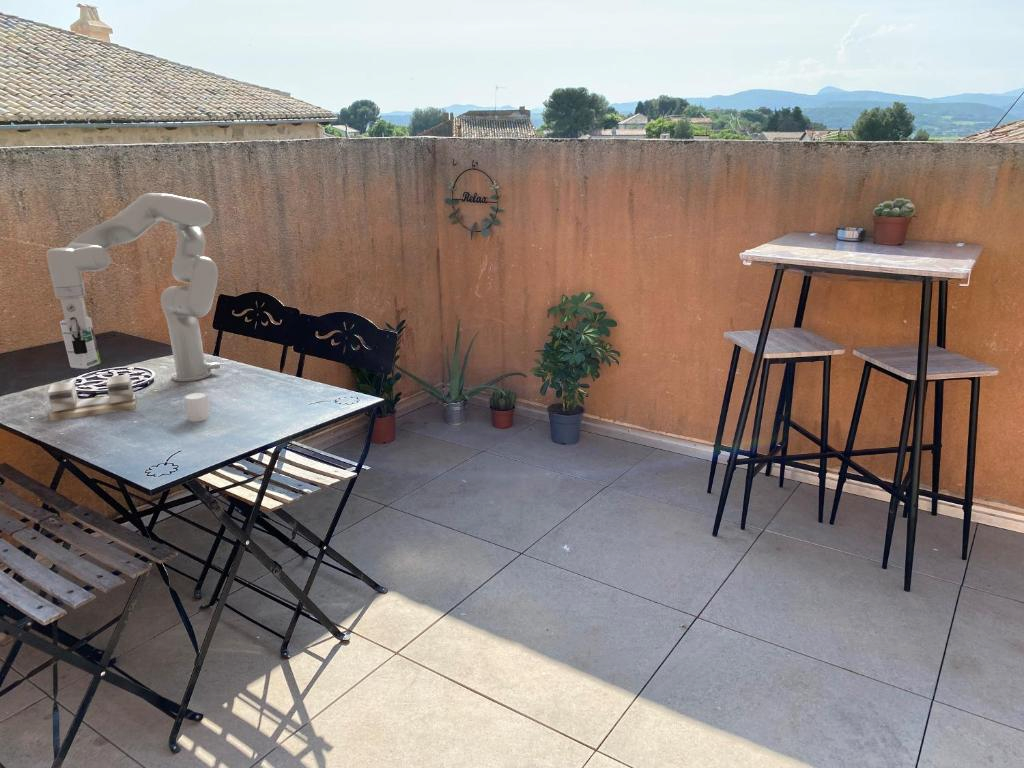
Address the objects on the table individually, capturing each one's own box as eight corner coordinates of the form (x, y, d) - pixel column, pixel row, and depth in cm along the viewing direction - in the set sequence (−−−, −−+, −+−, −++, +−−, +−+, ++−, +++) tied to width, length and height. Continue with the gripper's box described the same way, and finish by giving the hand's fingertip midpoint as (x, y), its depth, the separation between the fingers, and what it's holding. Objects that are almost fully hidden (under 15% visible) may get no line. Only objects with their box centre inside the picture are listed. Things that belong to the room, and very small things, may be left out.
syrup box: (86, 369, 200) (76, 321, 196) (69, 367, 201) (58, 320, 197) (101, 363, 206) (91, 316, 201) (84, 362, 207) (74, 315, 202)
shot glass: (204, 411, 205) (201, 390, 203) (216, 417, 201) (212, 395, 199) (182, 418, 200) (178, 396, 198) (193, 424, 196) (189, 401, 194)
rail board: (136, 396, 218) (131, 372, 215) (135, 408, 208) (130, 383, 205) (55, 407, 209) (49, 382, 206) (50, 420, 198) (44, 395, 196)
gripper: (82, 295, 190) (94, 355, 196) (87, 285, 205) (99, 341, 211) (50, 298, 187) (64, 359, 193) (58, 287, 202) (70, 344, 208)
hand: (82, 349), depth 202 cm, fingers closed on syrup box, 7 cm apart
